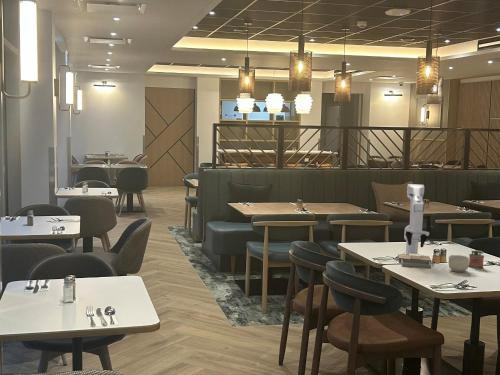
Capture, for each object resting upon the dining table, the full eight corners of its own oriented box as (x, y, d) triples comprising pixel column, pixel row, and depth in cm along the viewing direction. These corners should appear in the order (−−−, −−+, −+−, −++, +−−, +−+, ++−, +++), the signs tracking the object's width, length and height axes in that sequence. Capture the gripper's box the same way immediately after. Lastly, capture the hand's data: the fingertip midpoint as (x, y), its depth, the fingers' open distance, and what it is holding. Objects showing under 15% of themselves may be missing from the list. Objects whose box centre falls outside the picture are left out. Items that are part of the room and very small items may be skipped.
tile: (409, 256, 356) (409, 253, 356) (419, 257, 355) (419, 254, 355) (409, 258, 352) (409, 255, 351) (420, 259, 350) (420, 255, 350)
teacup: (470, 273, 330) (472, 259, 329) (451, 272, 330) (452, 258, 329) (462, 267, 344) (463, 254, 343) (443, 267, 344) (444, 253, 343)
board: (397, 257, 364) (398, 253, 364) (428, 260, 361) (428, 256, 361) (399, 262, 352) (399, 258, 352) (430, 264, 349) (431, 260, 348)
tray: (400, 262, 352) (401, 259, 351) (429, 264, 349) (429, 261, 348) (401, 266, 342) (402, 262, 342) (431, 268, 339) (431, 264, 339)
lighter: (467, 267, 346) (469, 250, 345) (468, 266, 349) (470, 249, 348) (482, 269, 342) (484, 251, 341) (483, 268, 345) (484, 250, 344)
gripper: (402, 221, 351) (401, 244, 353) (425, 225, 342) (424, 249, 343) (408, 220, 357) (406, 243, 358) (431, 224, 347) (429, 247, 348)
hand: (415, 246), depth 351 cm, fingers open, 7 cm apart
